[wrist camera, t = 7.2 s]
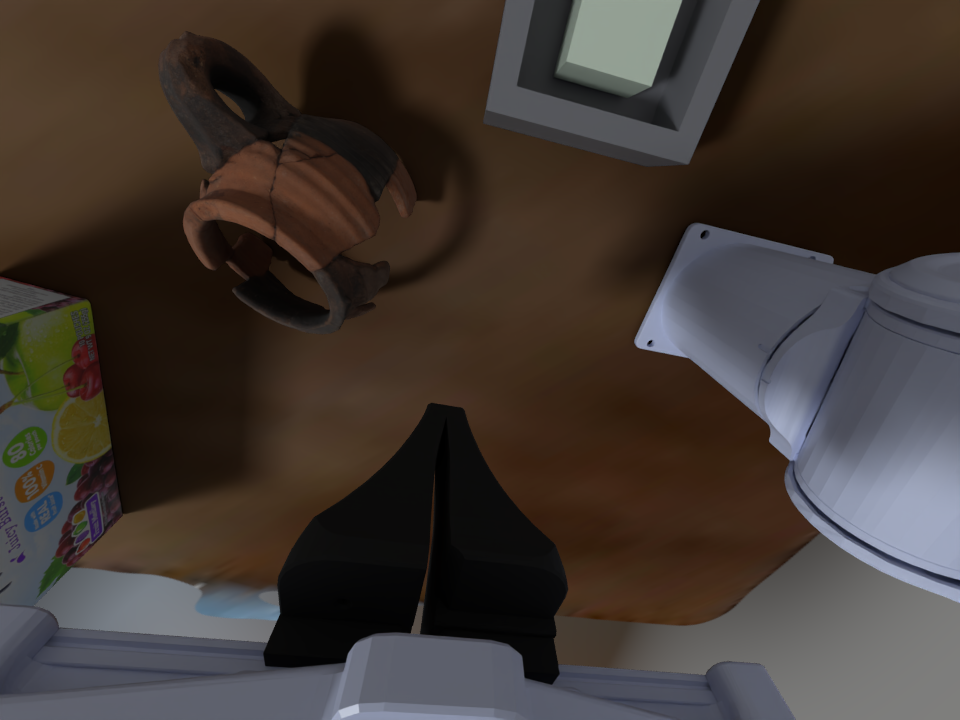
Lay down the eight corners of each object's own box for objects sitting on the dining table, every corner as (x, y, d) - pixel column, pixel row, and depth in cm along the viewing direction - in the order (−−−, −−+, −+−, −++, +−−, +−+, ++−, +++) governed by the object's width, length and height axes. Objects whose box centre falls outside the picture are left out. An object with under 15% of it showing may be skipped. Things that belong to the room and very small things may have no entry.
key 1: (662, -8, 14) (696, -40, 12) (627, 98, 16) (651, 86, 14) (581, -35, 14) (600, -73, 12) (553, 76, 15) (566, 61, 13)
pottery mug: (458, 237, 20) (400, 339, 16) (352, 268, 25) (283, 353, 21) (307, -44, 13) (105, -9, 8) (196, 78, 18) (29, 144, 13)
